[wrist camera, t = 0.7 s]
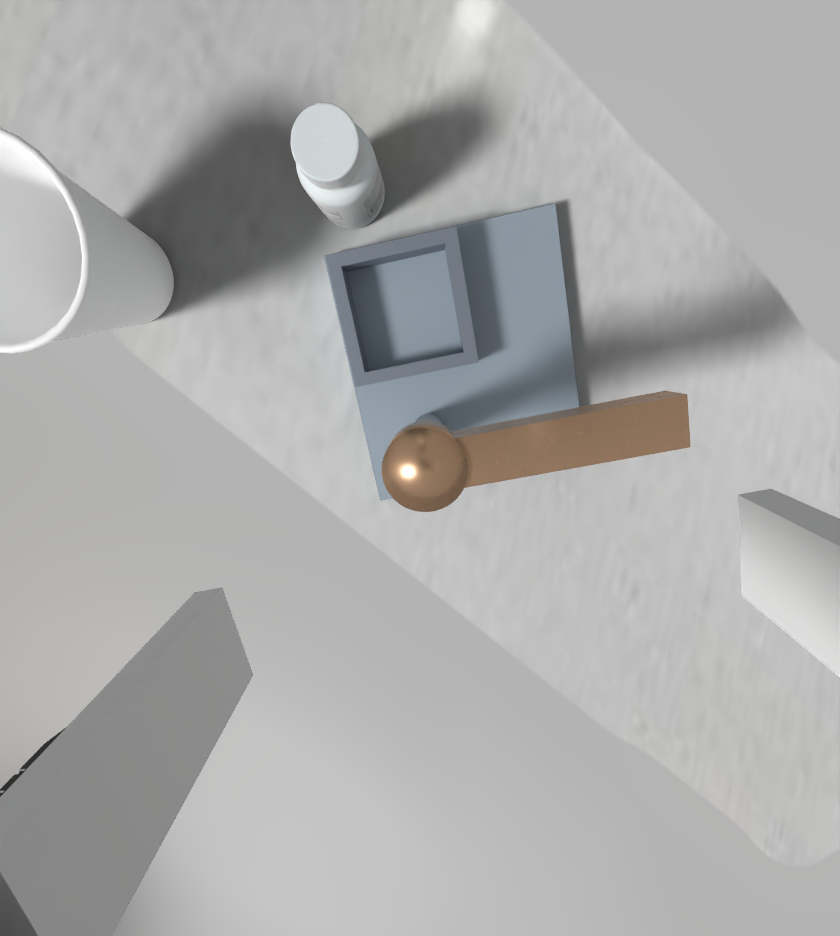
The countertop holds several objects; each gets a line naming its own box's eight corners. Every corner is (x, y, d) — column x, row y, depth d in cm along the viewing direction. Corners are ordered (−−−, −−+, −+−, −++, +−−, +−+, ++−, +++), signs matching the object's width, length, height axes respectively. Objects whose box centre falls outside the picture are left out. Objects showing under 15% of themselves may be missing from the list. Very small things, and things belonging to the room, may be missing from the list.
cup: (131, 164, 30) (-34, 62, 20) (233, 292, 32) (133, 263, 21) (31, 263, 32) (-170, 220, 21) (134, 380, 34) (-5, 394, 23)
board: (327, 258, 31) (278, 217, 22) (551, 208, 30) (606, 140, 20) (381, 496, 35) (361, 551, 26) (581, 460, 34) (639, 503, 24)
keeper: (395, 503, 24) (391, 518, 22) (378, 429, 23) (373, 437, 21) (670, 454, 23) (693, 465, 21) (664, 374, 22) (688, 376, 20)
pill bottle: (373, 145, 30) (352, 75, 22) (394, 218, 31) (380, 175, 23) (308, 168, 30) (266, 108, 23) (331, 239, 31) (297, 204, 24)
